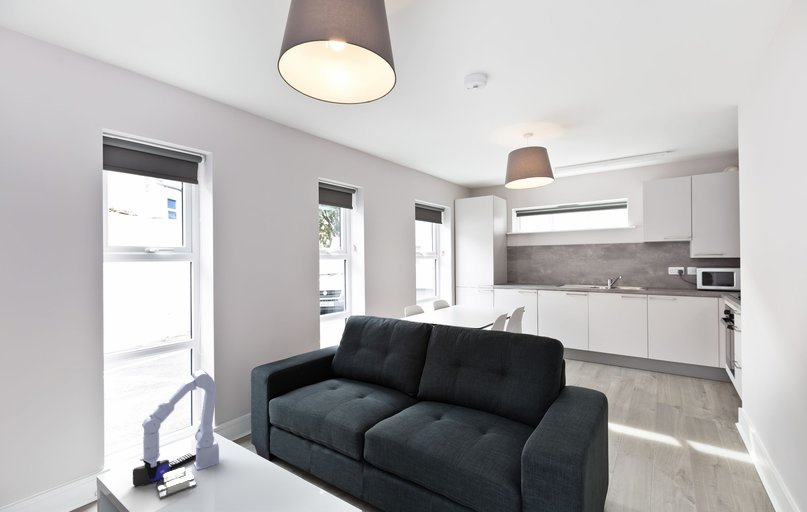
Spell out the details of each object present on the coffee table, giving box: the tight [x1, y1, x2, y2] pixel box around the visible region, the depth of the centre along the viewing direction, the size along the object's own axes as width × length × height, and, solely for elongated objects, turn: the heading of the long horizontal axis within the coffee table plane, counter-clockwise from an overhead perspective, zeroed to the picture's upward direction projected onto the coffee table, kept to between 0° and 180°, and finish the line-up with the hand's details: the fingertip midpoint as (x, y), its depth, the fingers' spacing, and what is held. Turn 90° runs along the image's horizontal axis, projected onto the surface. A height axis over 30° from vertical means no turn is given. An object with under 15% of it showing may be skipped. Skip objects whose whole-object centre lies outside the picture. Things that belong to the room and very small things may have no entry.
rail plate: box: [155, 466, 197, 500], centre depth 159 cm, size 13×12×5 cm
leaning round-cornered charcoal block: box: [132, 459, 170, 487], centre depth 163 cm, size 13×4×8 cm, turn 125°
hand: (151, 476), depth 163 cm, fingers open, 3 cm apart
